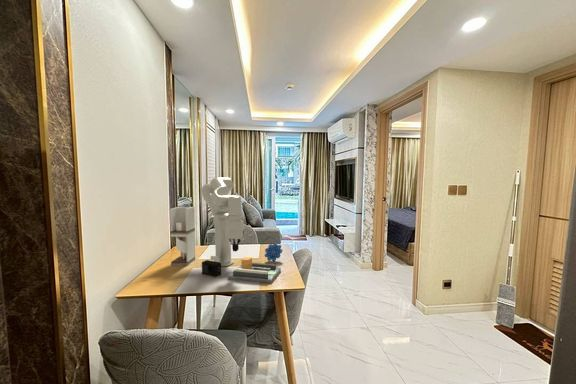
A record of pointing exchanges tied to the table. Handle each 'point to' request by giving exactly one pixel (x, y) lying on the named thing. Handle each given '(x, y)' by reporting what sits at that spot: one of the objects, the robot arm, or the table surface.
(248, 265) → the toggle
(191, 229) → the display case
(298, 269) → the table surface
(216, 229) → the robot arm
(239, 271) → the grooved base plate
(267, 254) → the grapes
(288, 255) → the table surface
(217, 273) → the digital camera
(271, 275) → the panel
